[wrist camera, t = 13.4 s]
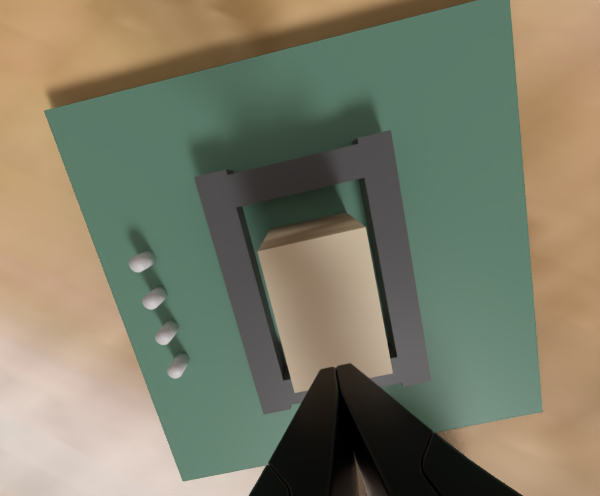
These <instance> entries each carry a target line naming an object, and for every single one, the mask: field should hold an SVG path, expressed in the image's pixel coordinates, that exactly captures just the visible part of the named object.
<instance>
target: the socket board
mask: <svg viewBox="0 0 600 496" xmlns="http://www.w3.org/2000/svg"><path fill="white" fill-rule="evenodd" d="M44 112H45V115H46V118H47V120H48V123H49V126H50V128H51V131H52V134H53V136H54V139H55V142H56V144H57V147H58V150H59V152H60V155H61V158H62V160H63V163H64V166H65V168H66V171H67V174H68V176H69V179H70V182H71V184H72V187H73V190H74V192H75V195H76V198H77V200H78V203H79V206H80V208H81V211H82V214H83V216H84V219H85V222H86V224H87V227H88V230H89V232H90V235H91V238H92V240H93V243H94V246H95V248H96V251H97V254H98V256H99V259H100V262H101V264H102V267H103V270H104V272H105V275H106V278H107V280H108V283H109V286H110V288H111V291H112V294H113V296H114V299H115V302H116V304H117V307H118V310H119V312H120V315H121V318H122V320H123V323H124V326H125V328H126V331H127V334H128V336H129V339H130V342H131V344H132V347H133V350H134V352H135V355H136V358H137V360H138V363H139V366H140V368H141V371H142V374H143V376H144V379H145V382H146V384H147V387H148V390H149V392H150V395H151V398H152V400H153V403H154V406H155V408H156V411H157V414H158V416H159V419H160V422H161V424H162V427H163V430H164V433H165V435H166V438H167V441H168V443H169V446H170V449H171V451H172V454H173V457H174V459H175V462H176V465H177V467H178V470H179V473H180V475H181V478H182V481H188V480H193V479H198V478H203V477H208V476H213V475H219V474H224V473H229V472H234V471H239V470H244V469H250V468H255V467H260V466H265V465H268V462H269V460H270V458H271V456H272V454H273V453H274V451H275V449H276V447H277V445H278V444H279V442H280V440H281V438H282V436H283V435H284V433H285V431H286V429H287V428H288V426H289V424H290V422H291V420H292V419H293V417H294V415H295V413H296V411H297V410H298V408H299V406H300V404H301V402H302V401H303V399H304V397H305V395H306V393H307V392H308V391H303V392H298V393H294V389H293V385H292V381H291V377H290V373H289V370H288V366H287V362H286V358H285V354H284V351H283V347H282V343H281V339H280V335H279V332H278V328H277V324H276V320H275V316H274V313H273V309H272V305H271V301H270V297H269V294H268V290H267V286H266V282H265V278H264V275H263V271H262V267H261V263H260V259H259V256H258V252H257V251H258V249H259V248H260V246H261V244H262V242H263V241H264V239H265V237H266V235H267V233H268V232H269V230H270V229H274V228H278V227H283V226H287V225H291V224H296V223H300V222H305V221H309V220H314V219H318V218H322V217H327V216H331V215H336V214H340V213H344V212H347V213H348V214H349V215H351V216H352V217H353V218H355V219H356V220H357V221H358V222H360V223H361V224H362V225H364V226H365V227H366V231H367V236H368V242H369V247H370V253H371V258H372V263H373V269H374V274H375V279H376V285H377V290H378V296H379V301H380V306H381V312H382V317H383V322H384V328H385V333H386V339H387V344H388V349H389V355H390V360H391V365H392V371H393V373H392V374H387V375H382V376H377V377H372V378H370V379H371V380H372V381H373V382H375V383H376V384H377V385H378V386H380V387H381V388H382V389H383V390H384V391H386V392H387V393H388V394H389V395H390V396H392V397H393V398H394V399H395V400H397V401H398V402H399V403H400V404H401V405H403V406H404V407H405V408H406V409H407V410H409V411H410V412H411V413H412V414H414V415H415V416H416V417H417V418H418V419H420V420H421V421H422V422H423V423H424V424H426V425H427V426H428V427H429V428H431V429H432V430H433V432H434V433H436V432H441V431H446V430H451V429H456V428H461V427H467V426H472V425H477V424H482V423H487V422H492V421H498V420H503V419H508V418H513V417H518V416H523V415H528V414H534V413H539V412H543V411H542V399H541V386H540V374H539V361H538V349H537V336H536V323H535V311H534V298H533V286H532V273H531V261H530V248H529V235H528V223H527V210H526V198H525V185H524V173H523V160H522V148H521V135H520V122H519V110H518V97H517V85H516V72H515V60H514V47H513V35H512V22H511V9H510V0H477V1H473V2H469V3H465V4H461V5H457V6H453V7H449V8H445V9H441V10H437V11H433V12H430V13H426V14H422V15H418V16H414V17H410V18H406V19H402V20H398V21H394V22H390V23H386V24H382V25H379V26H375V27H371V28H367V29H363V30H359V31H355V32H351V33H347V34H343V35H339V36H335V37H331V38H328V39H324V40H320V41H316V42H312V43H308V44H304V45H300V46H296V47H292V48H288V49H284V50H280V51H277V52H273V53H269V54H265V55H261V56H257V57H253V58H249V59H245V60H241V61H237V62H233V63H230V64H226V65H222V66H218V67H214V68H210V69H206V70H202V71H198V72H194V73H190V74H186V75H182V76H179V77H175V78H171V79H167V80H163V81H159V82H155V83H151V84H147V85H143V86H139V87H135V88H131V89H128V90H124V91H120V92H116V93H112V94H108V95H104V96H100V97H96V98H92V99H88V100H84V101H80V102H77V103H73V104H69V105H65V106H61V107H57V108H53V109H49V110H45V111H44Z"/></svg>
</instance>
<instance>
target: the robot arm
mask: <svg viewBox="0 0 600 496" xmlns="http://www.w3.org/2000/svg"><path fill="white" fill-rule="evenodd" d="M354 454H355V455H354ZM355 458H356V461H355ZM356 462H357V465H358V469H359V472H360V475H361V478H362V481H363V484H364V487H365V490H366V493H367V496H523V495H521V494H520V493H518V492H517V491H515V490H514V489H512V488H511V487H509V486H508V485H506V484H505V483H503V482H501V481H500V480H498V479H497V478H495V477H494V476H493V475H491V474H490V473H488V472H487V471H485V470H484V469H483V468H481V467H480V466H478V465H477V464H475V463H474V462H472V461H471V460H470V459H468V458H467V457H466V456H464V455H463V454H462V453H461V452H459V451H458V450H457V449H455V448H454V447H453V446H452V445H450V444H449V443H448V442H446V441H445V440H444V439H443V438H442V437H440V436H439V435H438V434H437V433H434V432H433V430H432V429H431V428H429V427H428V426H427V425H426V424H424V423H423V422H422V421H421V420H420V419H418V418H417V417H416V416H415V415H414V414H412V413H411V412H410V411H409V410H407V409H406V408H405V407H404V406H403V405H401V404H400V403H399V402H398V401H397V400H395V399H394V398H393V397H392V396H390V395H389V394H388V393H387V392H386V391H384V390H383V389H382V388H381V387H380V386H378V385H377V384H376V383H375V382H373V381H372V380H371V379H370V378H369V377H367V376H366V375H365V374H364V373H363V372H361V371H360V370H359V369H358V368H356V367H355V366H354V365H353V364H351V363H347V364H342V365H338V366H337V367H336V368H335V367H328V368H323V369H320V370H319V372H318V374H317V376H316V377H315V379H314V381H313V383H312V385H311V386H310V388H309V390H308V392H307V393H306V395H305V397H304V399H303V401H302V402H301V404H300V406H299V408H298V410H297V411H296V413H295V415H294V417H293V419H292V420H291V422H290V424H289V426H288V428H287V429H286V431H285V433H284V435H283V436H282V438H281V440H280V442H279V444H278V445H277V447H276V449H275V451H274V453H273V454H272V456H271V458H270V460H269V462H268V465H266V467H265V468H264V470H263V472H262V474H261V476H260V477H259V479H258V481H257V483H256V484H255V486H254V488H253V489H252V491H251V493H250V494H249V496H359V492H358V480H357V470H356Z"/></svg>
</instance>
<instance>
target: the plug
mask: <svg viewBox="0 0 600 496" xmlns="http://www.w3.org/2000/svg"><path fill="white" fill-rule="evenodd" d="M257 252H258V256H259V259H260V263H261V267H262V271H263V275H264V278H265V282H266V286H267V290H268V294H269V297H270V301H271V305H272V309H273V313H274V316H275V320H276V324H277V328H278V332H279V335H280V339H281V343H282V347H283V351H284V354H285V358H286V362H287V366H288V370H289V373H290V377H291V381H292V385H293V389H294V393H298V392H303V391H308V390H309V388H310V386H311V385H312V383H313V381H314V379H315V377H316V376H317V374H318V372H319V370H320V369H323V368H328V367H335V368H336V367H337V366H338V365H342V364H347V363H351V364H353V365H354V366H355V367H356V368H358V369H359V370H360V371H361V372H363V373H364V374H365V375H366V376H367V377H369V378H372V377H377V376H382V375H387V374H392V373H393V371H392V365H391V360H390V355H389V349H388V344H387V339H386V333H385V328H384V322H383V317H382V312H381V306H380V301H379V296H378V290H377V285H376V279H375V274H374V269H373V263H372V258H371V253H370V247H369V242H368V236H367V231H366V227H365V226H364V225H362V224H361V223H360V222H358V221H357V220H356V219H355V218H353V217H352V216H351V215H349V214H348V213H347V212H344V213H340V214H336V215H331V216H327V217H322V218H318V219H314V220H309V221H305V222H300V223H296V224H291V225H287V226H283V227H278V228H274V229H270V230H269V232H268V233H267V235H266V237H265V239H264V241H263V242H262V244H261V246H260V248H259V249H258V251H257Z"/></svg>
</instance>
